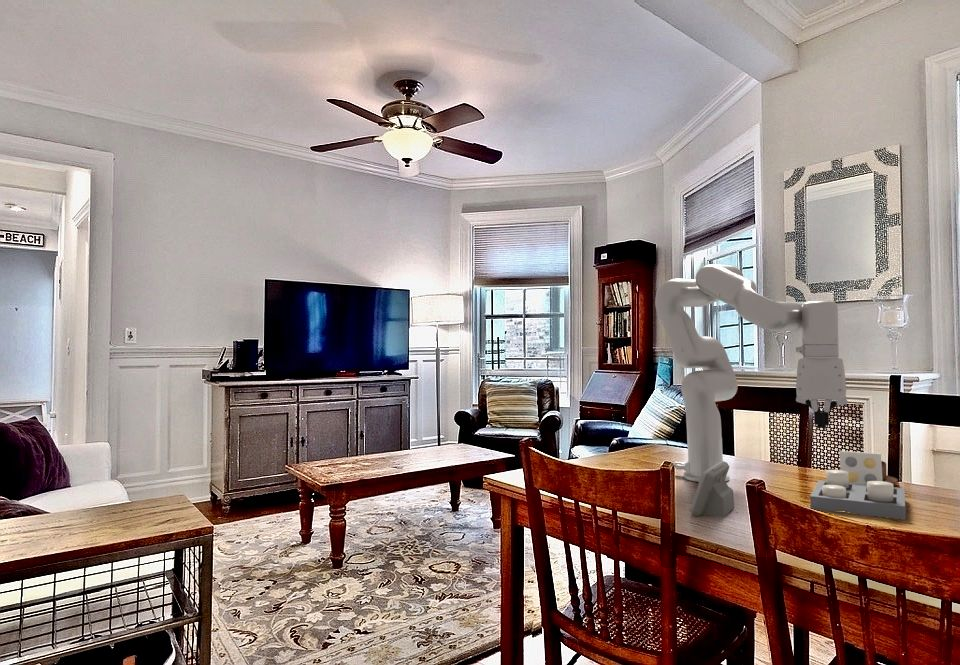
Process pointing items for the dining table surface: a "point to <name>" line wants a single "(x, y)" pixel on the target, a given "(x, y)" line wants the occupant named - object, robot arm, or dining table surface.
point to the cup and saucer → (887, 478)
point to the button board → (859, 502)
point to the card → (861, 466)
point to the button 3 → (880, 491)
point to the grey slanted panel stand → (713, 492)
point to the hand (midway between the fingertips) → (821, 427)
